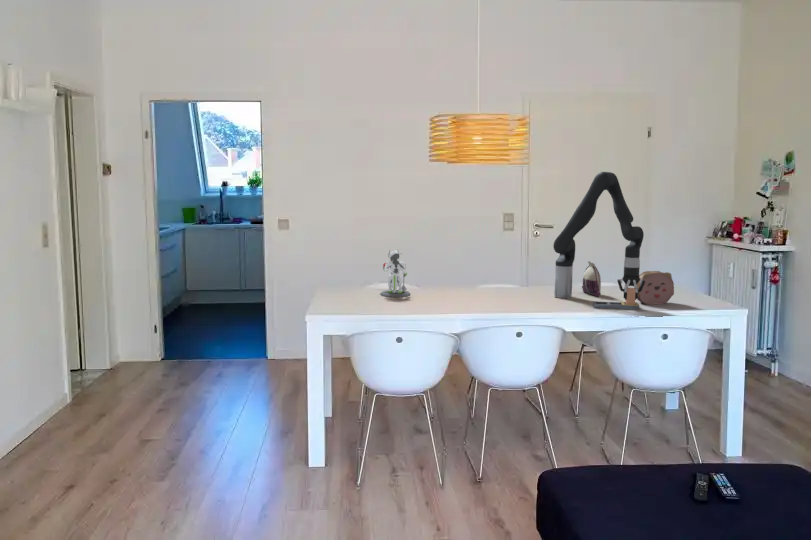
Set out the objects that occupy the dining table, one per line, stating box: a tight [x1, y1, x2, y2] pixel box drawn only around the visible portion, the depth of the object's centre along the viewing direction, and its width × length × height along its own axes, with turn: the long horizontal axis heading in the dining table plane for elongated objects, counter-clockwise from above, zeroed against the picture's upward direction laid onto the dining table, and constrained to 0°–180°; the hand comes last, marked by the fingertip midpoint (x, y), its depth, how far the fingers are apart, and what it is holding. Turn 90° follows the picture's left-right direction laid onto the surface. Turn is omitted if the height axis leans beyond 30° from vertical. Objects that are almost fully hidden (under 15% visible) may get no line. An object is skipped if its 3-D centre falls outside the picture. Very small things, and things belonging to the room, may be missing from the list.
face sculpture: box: [636, 270, 675, 305], centre depth 383 cm, size 20×7×17 cm, turn 101°
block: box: [625, 287, 636, 305], centre depth 370 cm, size 4×4×8 cm
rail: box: [592, 300, 640, 310], centre depth 371 cm, size 22×8×2 cm, turn 81°
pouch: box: [581, 260, 602, 298], centre depth 407 cm, size 25×8×19 cm, turn 15°
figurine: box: [379, 249, 411, 298], centre depth 404 cm, size 17×17×25 cm
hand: (630, 299), depth 370 cm, fingers closed on block, 4 cm apart
